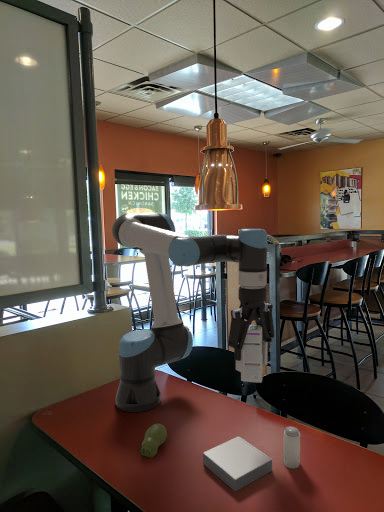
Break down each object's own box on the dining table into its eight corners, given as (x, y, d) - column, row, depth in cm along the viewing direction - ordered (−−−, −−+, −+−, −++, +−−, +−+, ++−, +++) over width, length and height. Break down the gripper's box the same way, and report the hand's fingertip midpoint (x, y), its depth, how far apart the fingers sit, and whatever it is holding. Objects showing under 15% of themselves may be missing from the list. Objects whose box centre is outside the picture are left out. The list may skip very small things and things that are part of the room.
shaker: (280, 462, 96) (280, 429, 95) (290, 456, 98) (290, 423, 97) (292, 470, 92) (293, 436, 91) (303, 464, 95) (303, 431, 94)
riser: (203, 463, 95) (203, 452, 95) (238, 446, 102) (238, 436, 102) (235, 491, 86) (235, 479, 85) (272, 470, 92) (272, 458, 92)
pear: (169, 421, 105) (153, 447, 96) (171, 437, 106) (155, 464, 97) (151, 417, 107) (134, 443, 98) (153, 433, 108) (136, 460, 99)
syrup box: (262, 383, 101) (262, 330, 100) (240, 381, 103) (240, 329, 101) (262, 374, 107) (263, 324, 105) (241, 372, 108) (241, 323, 106)
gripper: (232, 293, 93) (232, 381, 95) (289, 283, 105) (287, 362, 107) (213, 288, 99) (213, 371, 101) (269, 280, 111) (267, 354, 113)
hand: (251, 367), depth 104 cm, fingers closed on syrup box, 8 cm apart
